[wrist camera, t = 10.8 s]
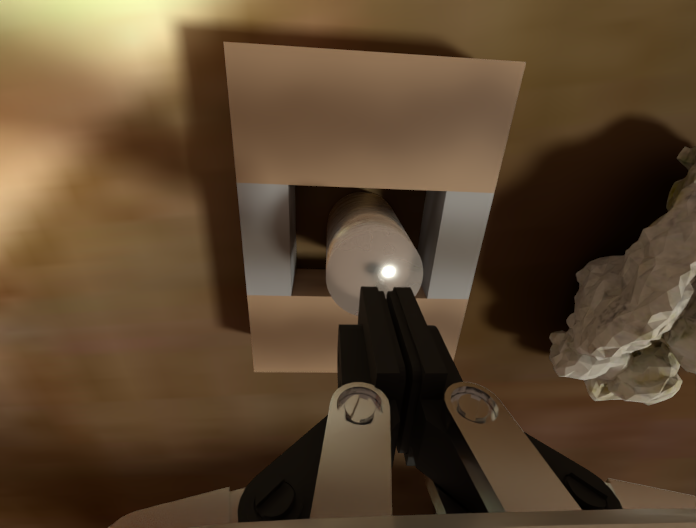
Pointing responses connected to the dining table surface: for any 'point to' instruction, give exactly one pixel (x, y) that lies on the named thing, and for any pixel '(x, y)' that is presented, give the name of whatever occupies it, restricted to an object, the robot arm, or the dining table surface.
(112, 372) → the dining table surface
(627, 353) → the mineral
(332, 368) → the frame
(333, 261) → the white glossy cylinder
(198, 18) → the dining table surface
